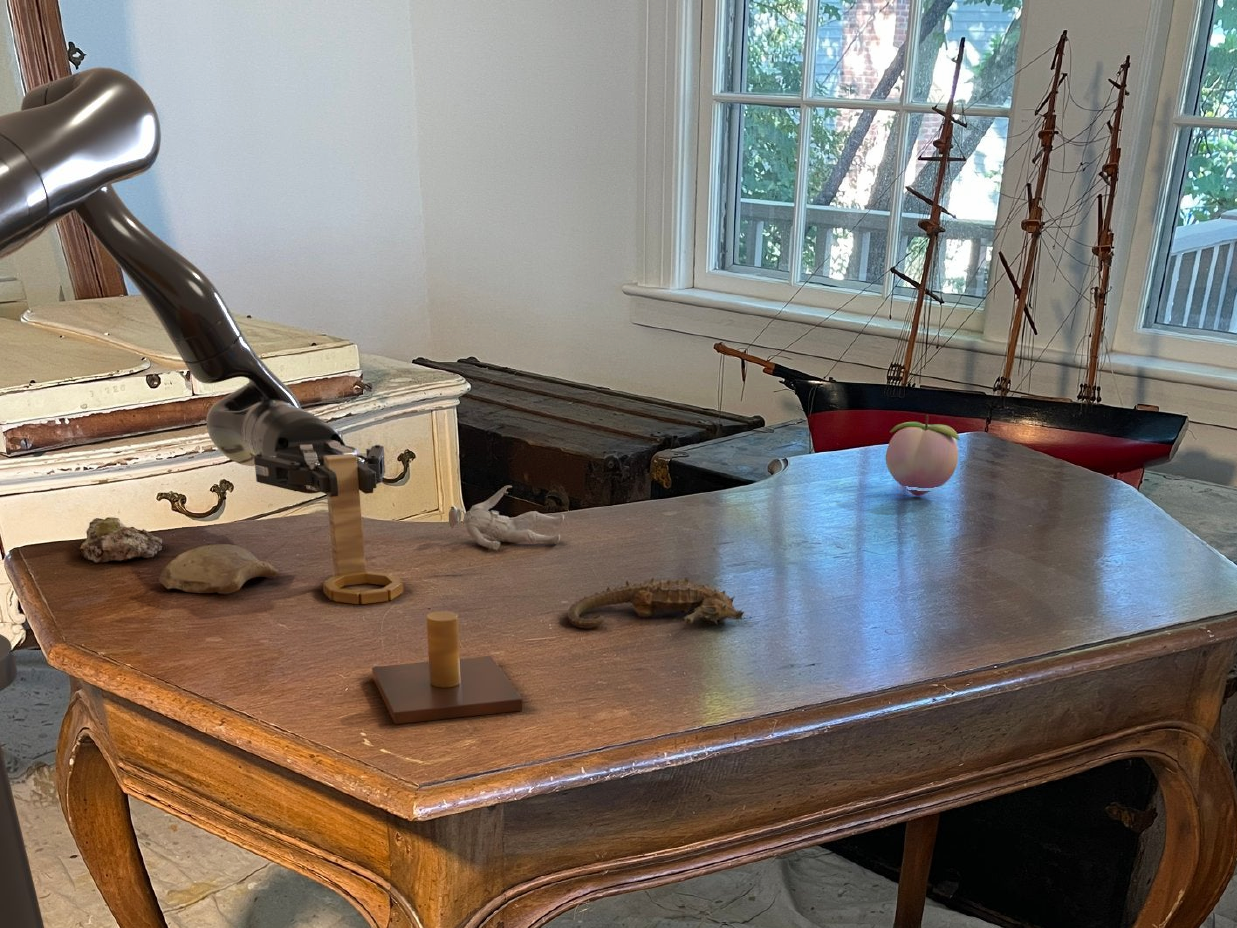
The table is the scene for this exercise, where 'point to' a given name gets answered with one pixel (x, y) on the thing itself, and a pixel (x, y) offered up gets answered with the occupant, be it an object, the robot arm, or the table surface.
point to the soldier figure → (501, 523)
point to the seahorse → (659, 601)
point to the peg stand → (445, 680)
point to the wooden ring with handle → (352, 541)
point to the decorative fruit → (922, 455)
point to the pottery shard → (214, 569)
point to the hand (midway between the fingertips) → (351, 484)
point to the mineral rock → (117, 541)
